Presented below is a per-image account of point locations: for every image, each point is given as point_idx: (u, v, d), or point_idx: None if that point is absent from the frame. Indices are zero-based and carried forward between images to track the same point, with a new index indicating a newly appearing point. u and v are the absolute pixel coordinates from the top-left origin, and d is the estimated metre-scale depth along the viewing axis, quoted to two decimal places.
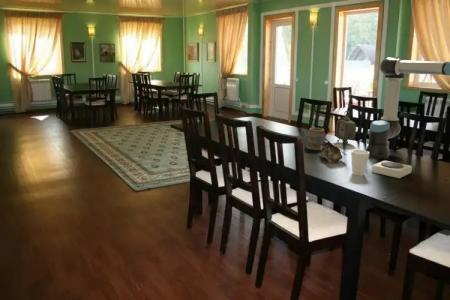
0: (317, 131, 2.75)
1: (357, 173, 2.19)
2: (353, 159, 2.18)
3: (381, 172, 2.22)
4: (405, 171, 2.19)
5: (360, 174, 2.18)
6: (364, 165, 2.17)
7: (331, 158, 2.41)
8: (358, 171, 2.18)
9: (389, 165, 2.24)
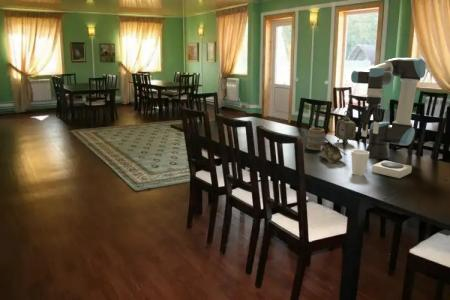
0: (317, 131, 2.75)
1: (357, 173, 2.19)
2: (353, 159, 2.18)
3: (381, 172, 2.22)
4: (405, 171, 2.19)
5: (360, 174, 2.18)
6: (364, 165, 2.17)
7: (331, 158, 2.41)
8: (358, 171, 2.18)
9: (389, 165, 2.24)
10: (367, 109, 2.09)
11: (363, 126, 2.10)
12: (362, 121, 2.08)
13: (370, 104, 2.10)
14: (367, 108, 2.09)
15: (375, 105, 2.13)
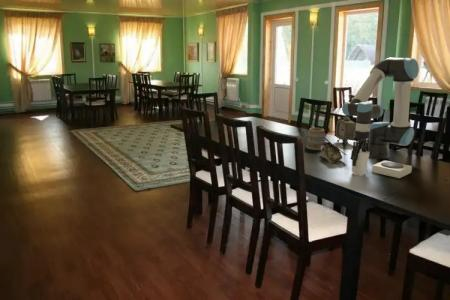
0: (317, 131, 2.75)
1: (357, 173, 2.19)
2: None
3: (381, 172, 2.22)
4: (405, 171, 2.19)
5: (360, 174, 2.18)
6: (364, 165, 2.17)
7: (331, 158, 2.41)
8: (358, 171, 2.18)
9: (389, 165, 2.24)
10: (355, 145, 2.13)
11: (353, 162, 2.15)
12: (352, 157, 2.14)
13: (358, 138, 2.14)
14: (355, 144, 2.13)
15: (364, 139, 2.16)
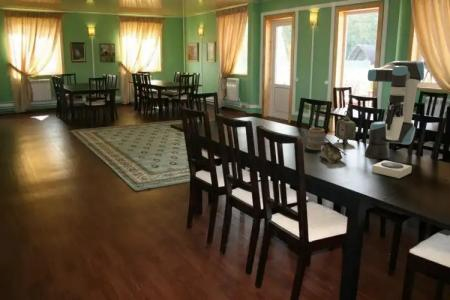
0: (317, 131, 2.75)
1: (391, 138, 2.18)
2: None
3: (381, 172, 2.22)
4: (405, 171, 2.19)
5: (394, 139, 2.18)
6: (399, 129, 2.16)
7: (331, 158, 2.41)
8: (392, 135, 2.17)
9: (389, 165, 2.24)
10: (390, 109, 2.12)
11: (388, 126, 2.15)
12: (386, 121, 2.13)
13: (393, 102, 2.13)
14: (390, 108, 2.12)
15: (398, 103, 2.16)
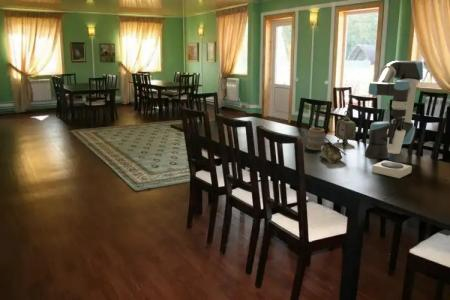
0: (317, 131, 2.75)
1: (393, 151, 2.20)
2: None
3: (381, 172, 2.22)
4: (405, 171, 2.19)
5: (396, 152, 2.20)
6: (400, 143, 2.18)
7: (331, 158, 2.41)
8: (394, 149, 2.19)
9: (389, 165, 2.24)
10: (392, 123, 2.14)
11: (389, 140, 2.17)
12: (389, 135, 2.15)
13: (395, 116, 2.16)
14: (392, 122, 2.14)
15: (400, 117, 2.18)
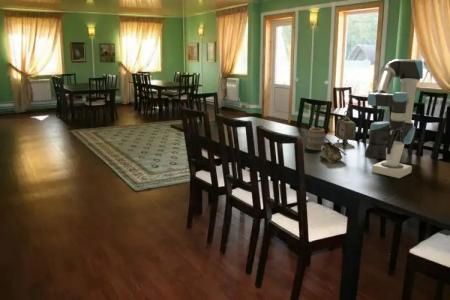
0: (317, 131, 2.75)
1: (392, 164, 2.22)
2: None
3: (381, 172, 2.22)
4: (405, 171, 2.19)
5: (395, 165, 2.22)
6: (399, 156, 2.20)
7: (331, 158, 2.41)
8: (392, 161, 2.21)
9: None
10: (391, 133, 2.15)
11: (388, 150, 2.18)
12: (387, 145, 2.16)
13: (394, 128, 2.17)
14: (391, 133, 2.15)
15: (398, 128, 2.19)
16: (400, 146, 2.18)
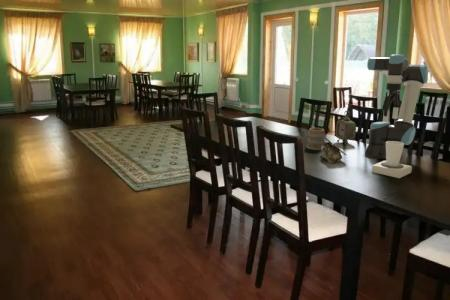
0: (317, 131, 2.75)
1: (392, 164, 2.22)
2: (388, 150, 2.21)
3: (381, 172, 2.22)
4: (405, 171, 2.19)
5: (395, 165, 2.22)
6: (399, 156, 2.20)
7: (331, 158, 2.41)
8: (392, 161, 2.21)
9: None
10: (388, 95, 2.16)
11: (384, 112, 2.18)
12: (384, 107, 2.16)
13: (391, 90, 2.18)
14: (388, 94, 2.16)
15: (395, 91, 2.20)
16: (400, 146, 2.18)
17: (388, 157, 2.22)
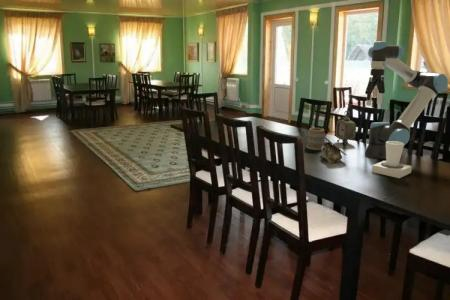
0: (317, 131, 2.75)
1: (392, 164, 2.22)
2: (388, 150, 2.21)
3: (381, 172, 2.22)
4: (405, 171, 2.19)
5: (395, 165, 2.22)
6: (399, 156, 2.20)
7: (330, 158, 2.41)
8: (392, 161, 2.21)
9: None
10: (371, 80, 2.26)
11: (367, 96, 2.28)
12: (366, 91, 2.26)
13: (374, 76, 2.28)
14: (371, 79, 2.26)
15: (379, 77, 2.30)
16: (400, 146, 2.18)
17: (388, 157, 2.22)
